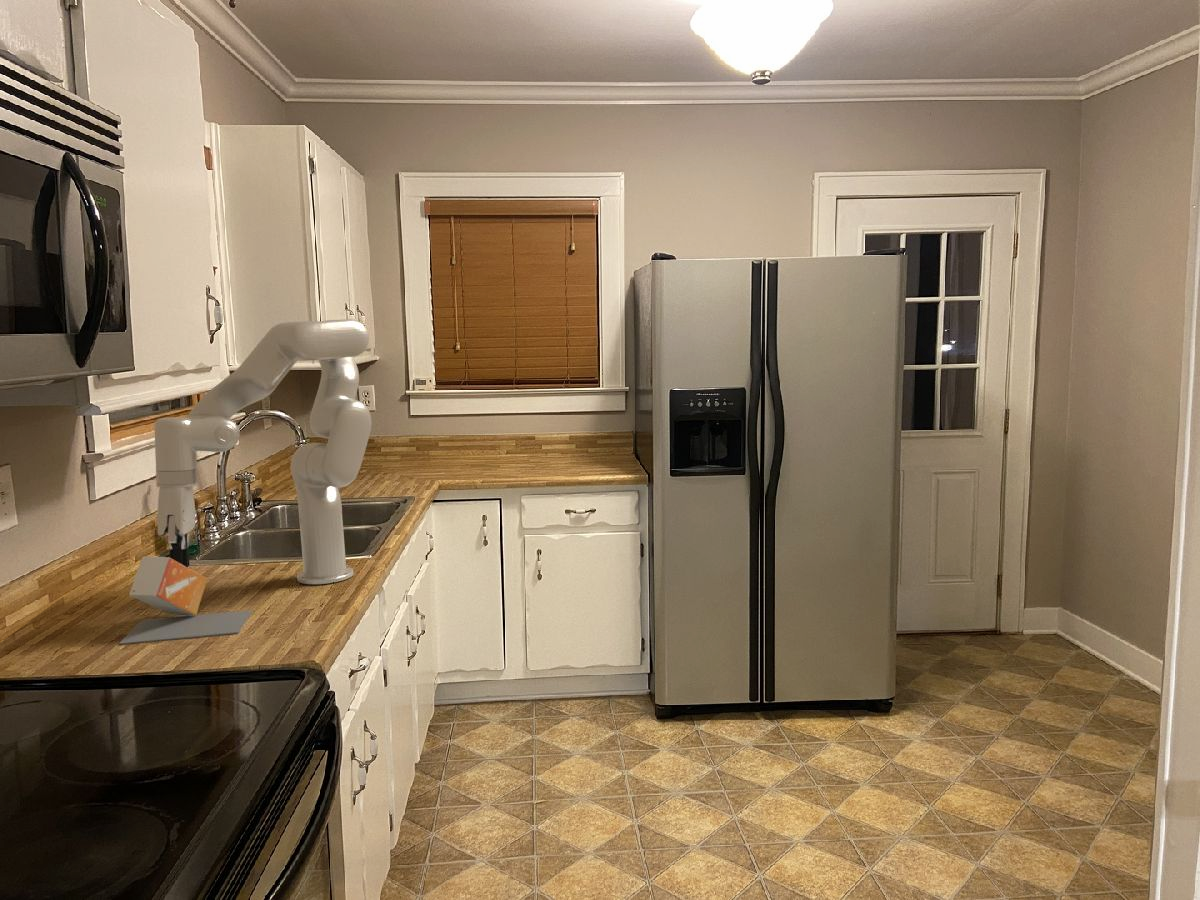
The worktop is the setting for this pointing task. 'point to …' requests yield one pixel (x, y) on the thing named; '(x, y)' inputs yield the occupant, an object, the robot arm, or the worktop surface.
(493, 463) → the worktop surface
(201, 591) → the small box
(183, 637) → the mat
